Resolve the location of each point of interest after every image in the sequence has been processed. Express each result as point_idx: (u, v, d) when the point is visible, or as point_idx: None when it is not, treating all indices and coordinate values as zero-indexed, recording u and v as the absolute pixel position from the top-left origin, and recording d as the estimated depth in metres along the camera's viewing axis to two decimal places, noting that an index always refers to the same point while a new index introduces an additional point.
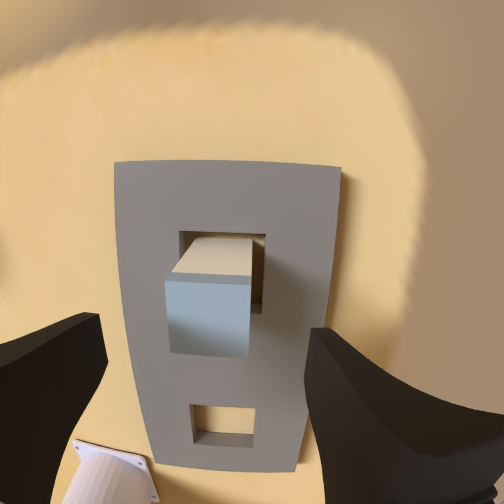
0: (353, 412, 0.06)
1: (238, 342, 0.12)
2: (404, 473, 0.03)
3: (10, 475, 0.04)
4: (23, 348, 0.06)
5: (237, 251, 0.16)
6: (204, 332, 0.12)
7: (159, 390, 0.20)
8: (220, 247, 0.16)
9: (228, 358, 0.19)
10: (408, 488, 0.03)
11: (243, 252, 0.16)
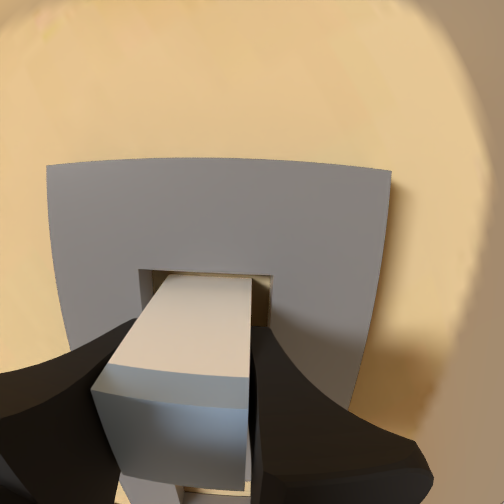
0: (256, 415, 0.06)
1: (227, 476, 0.06)
2: (263, 488, 0.03)
3: None
4: (84, 363, 0.06)
5: (227, 308, 0.10)
6: (170, 462, 0.06)
7: None
8: (200, 298, 0.10)
9: None
10: None
11: (236, 309, 0.09)
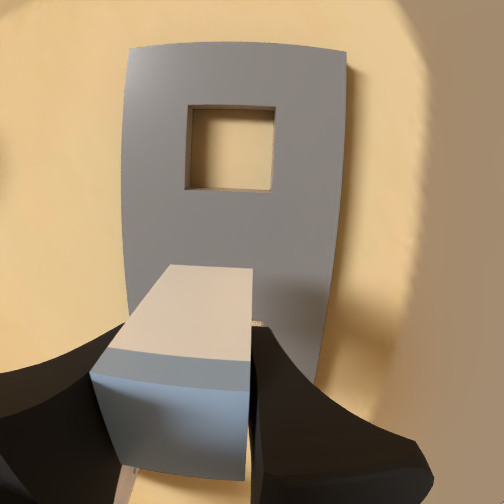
0: (256, 415, 0.06)
1: (227, 464, 0.06)
2: (263, 488, 0.03)
3: None
4: (83, 363, 0.06)
5: (227, 296, 0.10)
6: (169, 449, 0.06)
7: None
8: (201, 287, 0.10)
9: (233, 250, 0.17)
10: None
11: (237, 297, 0.10)
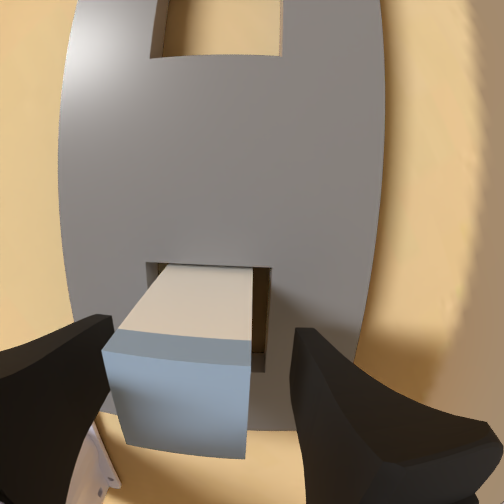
0: (329, 414, 0.06)
1: (229, 441, 0.07)
2: (371, 479, 0.03)
3: (26, 483, 0.04)
4: (37, 352, 0.06)
5: (230, 285, 0.10)
6: (174, 426, 0.07)
7: (96, 233, 0.11)
8: (204, 276, 0.11)
9: (222, 143, 0.10)
10: (376, 495, 0.03)
11: (239, 285, 0.10)
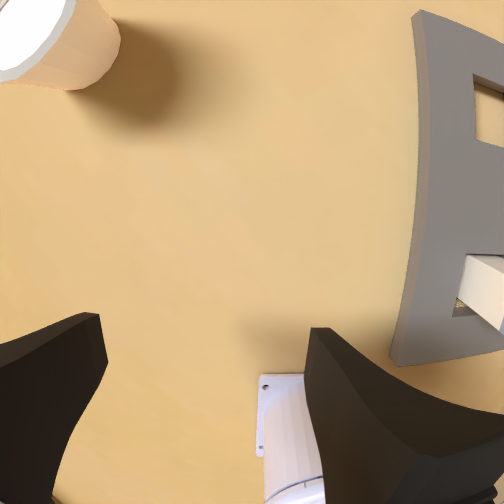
0: (353, 412, 0.06)
1: None
2: (404, 473, 0.03)
3: (10, 475, 0.04)
4: (23, 348, 0.06)
5: None
6: None
7: (445, 237, 0.17)
8: (492, 260, 0.17)
9: (500, 193, 0.16)
10: (408, 488, 0.03)
11: None
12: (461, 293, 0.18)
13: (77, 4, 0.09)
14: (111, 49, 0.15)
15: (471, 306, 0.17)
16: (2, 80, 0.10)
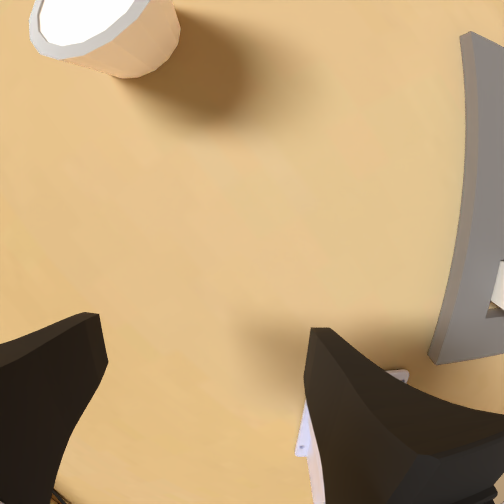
0: (353, 412, 0.06)
1: None
2: (404, 473, 0.03)
3: (10, 475, 0.04)
4: (23, 348, 0.06)
5: None
6: None
7: (485, 244, 0.17)
8: None
9: None
10: (408, 488, 0.03)
11: None
12: (494, 296, 0.18)
13: None
14: (174, 38, 0.14)
15: (503, 308, 0.17)
16: (61, 57, 0.10)
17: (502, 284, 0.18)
